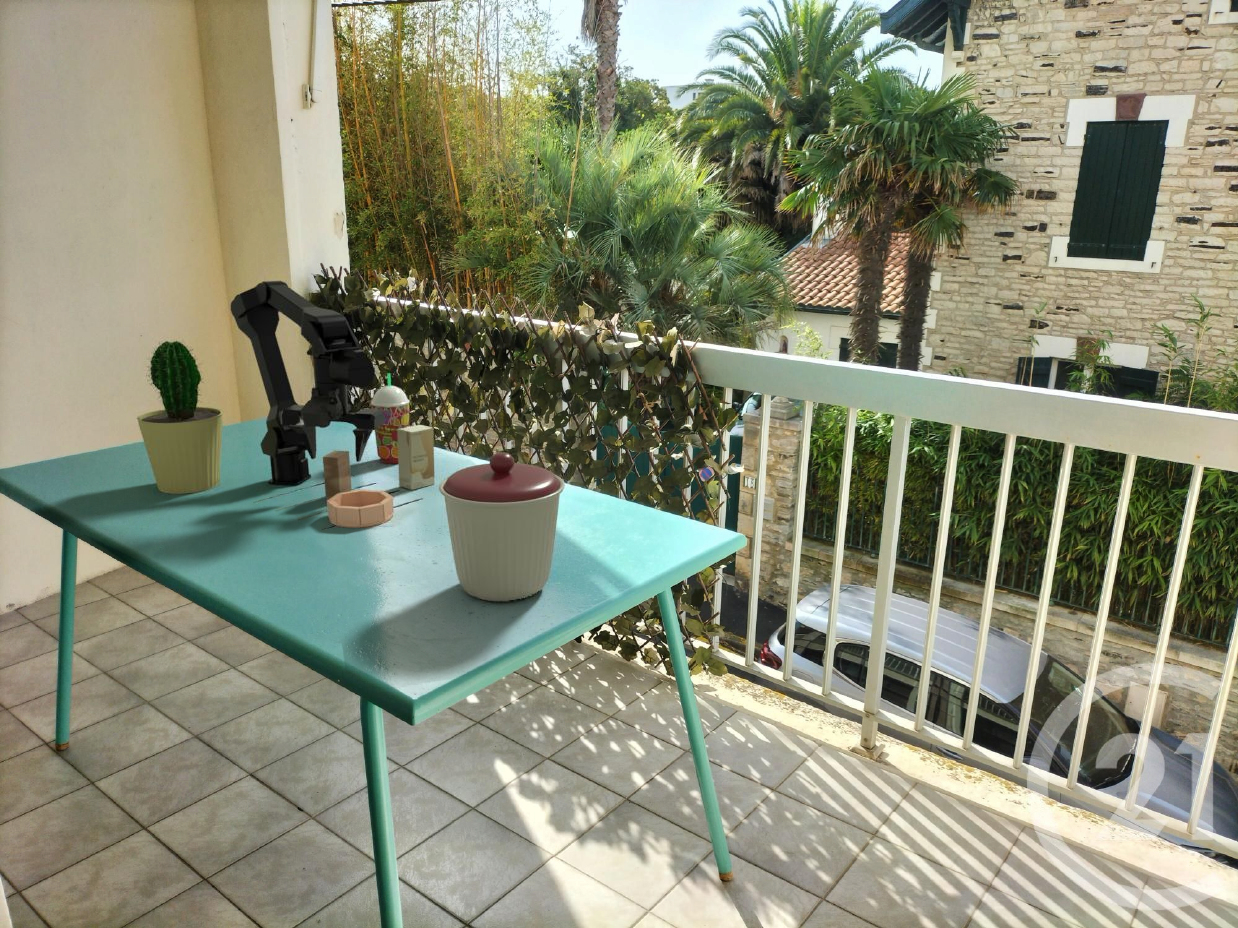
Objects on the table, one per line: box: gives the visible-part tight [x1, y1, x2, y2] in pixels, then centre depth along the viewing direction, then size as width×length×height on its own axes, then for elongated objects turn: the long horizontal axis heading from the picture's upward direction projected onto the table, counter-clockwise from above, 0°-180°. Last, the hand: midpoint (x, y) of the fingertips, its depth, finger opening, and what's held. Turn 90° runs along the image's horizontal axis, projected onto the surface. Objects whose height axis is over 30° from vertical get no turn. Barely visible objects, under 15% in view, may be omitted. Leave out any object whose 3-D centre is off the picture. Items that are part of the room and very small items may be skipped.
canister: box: [438, 451, 565, 602], centre depth 127 cm, size 18×18×21 cm
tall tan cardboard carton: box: [322, 449, 353, 503], centre depth 168 cm, size 3×5×9 cm, turn 172°
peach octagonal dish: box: [326, 489, 395, 529], centre depth 158 cm, size 11×11×4 cm
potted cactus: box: [136, 340, 224, 495], centre depth 171 cm, size 15×15×30 cm
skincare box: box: [397, 424, 435, 491], centre depth 177 cm, size 6×4×12 cm
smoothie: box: [370, 372, 410, 464], centre depth 193 cm, size 8×8×20 cm
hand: (336, 460), depth 167 cm, fingers open, 9 cm apart
